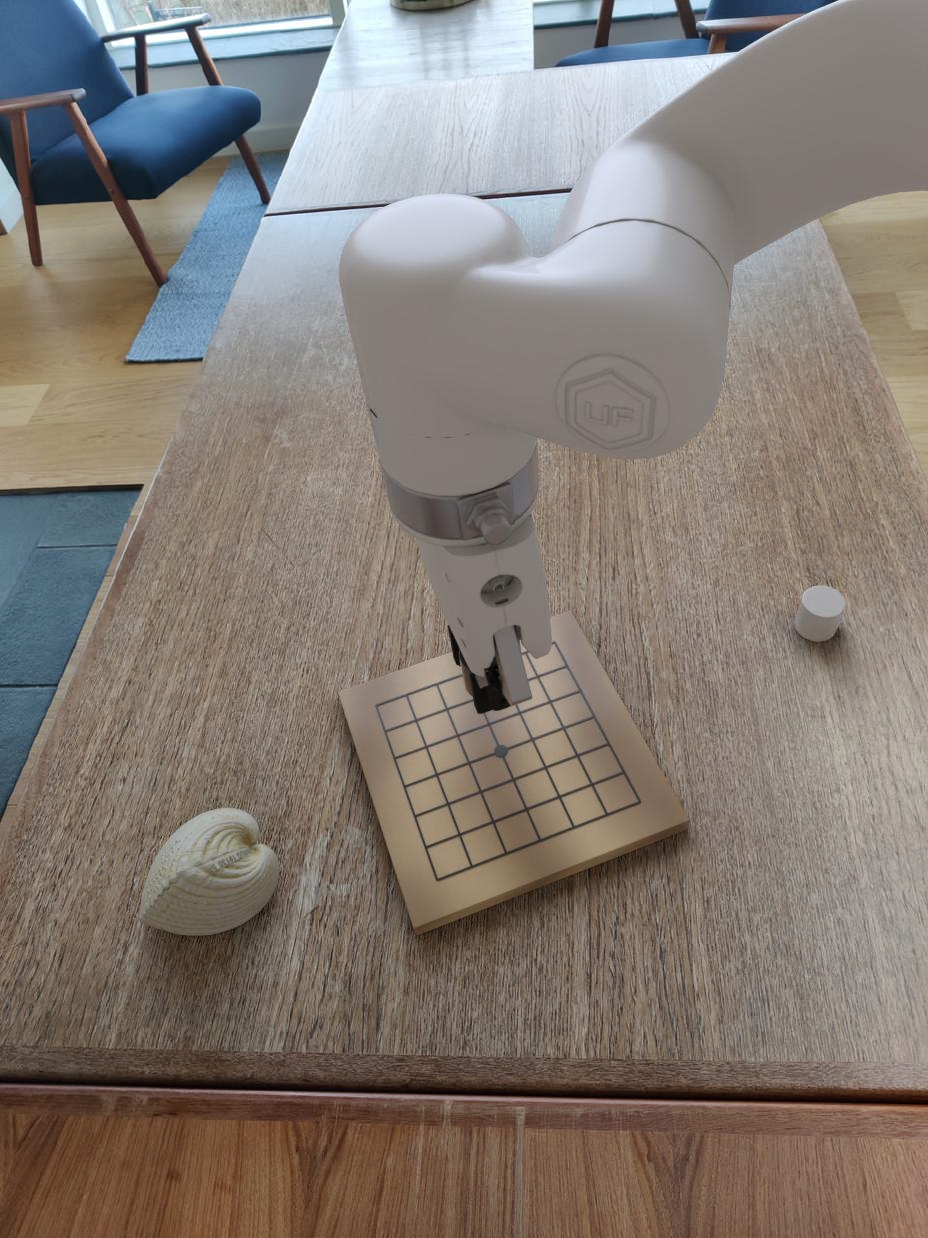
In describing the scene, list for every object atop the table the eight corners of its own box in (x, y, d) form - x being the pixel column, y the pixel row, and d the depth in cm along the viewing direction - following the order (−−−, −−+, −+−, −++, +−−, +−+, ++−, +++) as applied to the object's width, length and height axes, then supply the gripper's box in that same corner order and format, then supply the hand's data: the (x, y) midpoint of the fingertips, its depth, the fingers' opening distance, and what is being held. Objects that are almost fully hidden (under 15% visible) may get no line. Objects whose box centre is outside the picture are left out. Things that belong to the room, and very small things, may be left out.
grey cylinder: (821, 605, 72) (830, 579, 69) (844, 634, 70) (854, 609, 67) (786, 618, 72) (794, 592, 69) (808, 647, 70) (817, 622, 67)
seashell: (309, 881, 60) (205, 937, 54) (260, 918, 65) (162, 973, 59) (253, 776, 61) (147, 821, 56) (210, 821, 67) (110, 866, 61)
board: (570, 620, 74) (570, 608, 72) (688, 829, 61) (690, 819, 60) (341, 701, 71) (337, 690, 70) (416, 936, 59) (413, 928, 58)
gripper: (605, 562, 38) (595, 764, 53) (475, 355, 48) (497, 573, 63) (442, 618, 37) (478, 808, 52) (343, 394, 47) (397, 607, 62)
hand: (488, 678), depth 57 cm, fingers closed on black stone, 3 cm apart
